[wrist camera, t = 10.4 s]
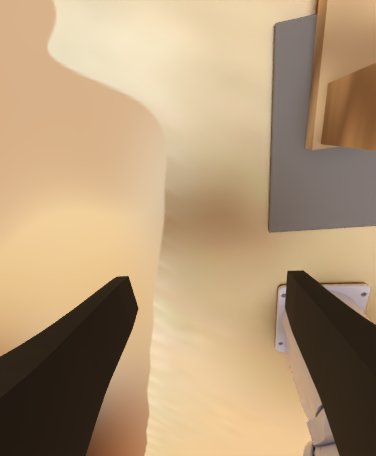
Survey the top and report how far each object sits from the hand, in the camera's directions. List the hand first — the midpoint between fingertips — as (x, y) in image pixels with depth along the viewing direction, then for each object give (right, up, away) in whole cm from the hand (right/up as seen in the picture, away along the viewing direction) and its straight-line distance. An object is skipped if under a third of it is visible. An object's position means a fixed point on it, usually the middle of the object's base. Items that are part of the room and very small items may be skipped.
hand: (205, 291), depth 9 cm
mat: (+10, +9, +5) cm, 15 cm away
